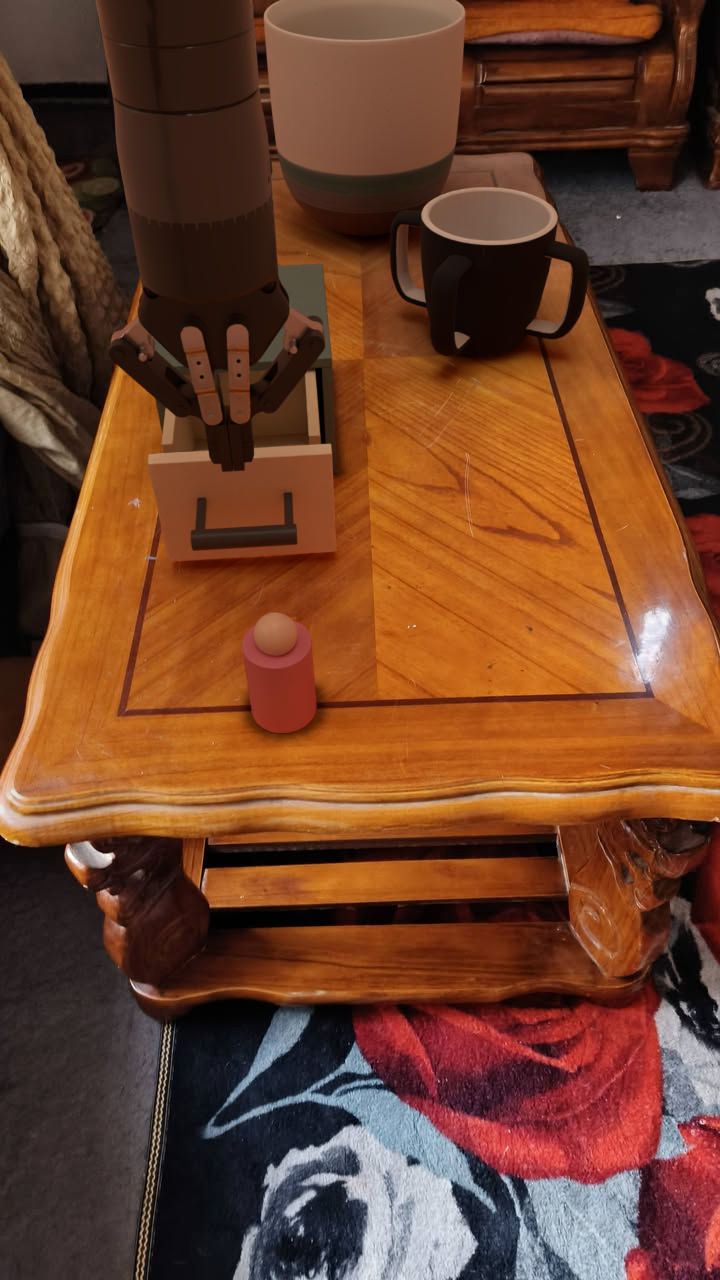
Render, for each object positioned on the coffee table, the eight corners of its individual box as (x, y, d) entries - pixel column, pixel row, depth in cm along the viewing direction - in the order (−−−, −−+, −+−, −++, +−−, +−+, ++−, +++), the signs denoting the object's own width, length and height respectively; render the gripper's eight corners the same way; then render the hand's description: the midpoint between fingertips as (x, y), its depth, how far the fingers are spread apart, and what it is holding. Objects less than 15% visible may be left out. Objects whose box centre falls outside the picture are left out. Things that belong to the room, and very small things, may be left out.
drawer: (340, 597, 68) (336, 498, 61) (164, 608, 67) (141, 510, 61) (327, 438, 81) (322, 343, 74) (179, 446, 80) (162, 352, 74)
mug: (584, 372, 89) (606, 244, 80) (415, 389, 88) (418, 261, 79) (535, 290, 100) (550, 170, 91) (384, 304, 99) (384, 184, 90)
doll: (251, 735, 60) (237, 647, 54) (251, 685, 63) (238, 596, 57) (317, 731, 60) (311, 642, 55) (315, 681, 63) (308, 591, 57)
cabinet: (336, 473, 79) (331, 357, 71) (171, 482, 78) (148, 367, 71) (327, 372, 90) (322, 263, 82) (182, 380, 89) (163, 270, 81)
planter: (262, 258, 106) (242, 37, 91) (299, 185, 120) (286, -17, 105) (445, 268, 104) (456, 43, 88) (461, 193, 118) (473, -13, 102)
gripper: (58, 222, 46) (125, 506, 59) (330, 211, 47) (340, 494, 59) (78, 164, 51) (136, 436, 64) (323, 154, 52) (333, 426, 65)
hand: (234, 463), depth 62 cm, fingers closed
